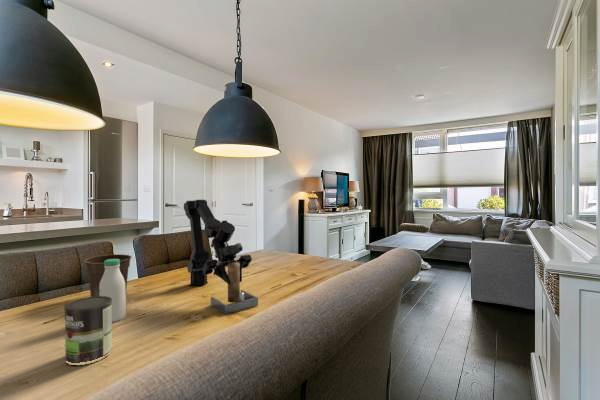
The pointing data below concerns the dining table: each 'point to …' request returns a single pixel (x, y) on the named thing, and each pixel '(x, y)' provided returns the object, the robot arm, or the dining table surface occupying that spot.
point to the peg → (234, 282)
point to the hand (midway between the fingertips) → (235, 282)
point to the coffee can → (88, 328)
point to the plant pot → (97, 270)
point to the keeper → (236, 303)
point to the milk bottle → (114, 288)
